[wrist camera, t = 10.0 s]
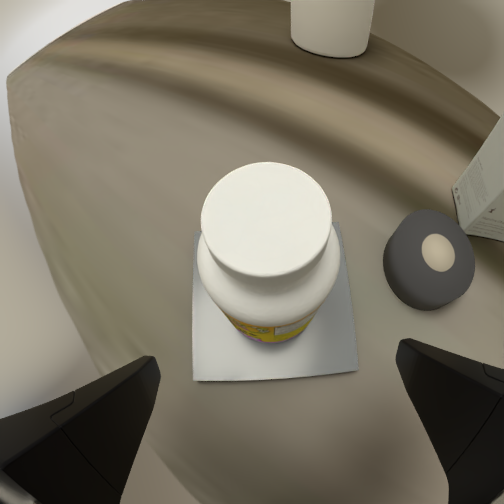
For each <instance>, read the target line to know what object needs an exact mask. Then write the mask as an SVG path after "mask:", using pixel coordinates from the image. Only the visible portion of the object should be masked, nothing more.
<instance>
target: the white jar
mask: <svg viewBox="0 0 504 504" xmlns="http://www.w3.org/2000/svg"><path fill="white" fill-rule="evenodd" d="M374 2H375V0H291V38H292V40H293V41H294V42H295V44H296V45H298V46H299V47H301V48H302V49H304V50H307V51H309V52H312V53H315V54H319V55H324V56H330V57H353V56H358V55H360V54H362V53H363V52H364V51H365V50H366V47H367V44H368V39H369V33H370V27H371V21H372V15H373V8H374Z"/></svg>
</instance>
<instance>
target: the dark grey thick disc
mask: <svg viewBox="0 0 504 504" xmlns="http://www.w3.org/2000/svg"><path fill="white" fill-rule="evenodd" d="M383 266H384V272H385V276H386V279H387V281H388V283H389V285H390V287H391V289H392V290H393V292H394V293H395V294H396V295H397V296H398V298H399V299H401V300H402V301H403V302H404V303H406V304H407V305H409V306H411V307H413V308H416V309H419V310H434V309H437V308H439V307H441V306H443V305H445V304H447V303H449V302H451V301H453V300H455V299H457V298H458V297H460V296H461V295H463V294H464V293H465V292H466V291H467V289H468V288H469V286H470V284H471V282H472V280H473V276H474V271H475V258H474V253H473V249H472V246H471V243H470V241H469V239H468V237H467V235H466V234H465V232H464V231H463V230H462V228H461V227H460V226H459V225H458V224H457V223H456V222H455V221H454V220H453V219H451V218H450V217H448V216H447V215H445V214H443V213H441V212H438V211H434V210H419V211H415V212H413V213H411V214H409V215H408V216H407V217H406V218H405V219H404V220H403V221H402V222H401V224H400V225H399V227H398V228H397V229H396V231H395V232H394V234H393V235H392V236H391V238H390V239H389V240H388V242H387V244H386V247H385V250H384V256H383Z"/></svg>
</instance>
